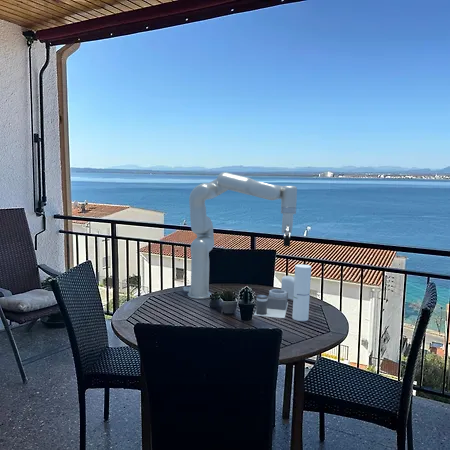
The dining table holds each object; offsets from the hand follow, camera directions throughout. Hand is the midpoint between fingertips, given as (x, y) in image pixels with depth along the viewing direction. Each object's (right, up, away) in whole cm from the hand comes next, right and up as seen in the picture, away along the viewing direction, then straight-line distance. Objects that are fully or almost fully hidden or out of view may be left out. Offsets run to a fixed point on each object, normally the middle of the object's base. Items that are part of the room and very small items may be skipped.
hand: (286, 244), depth 212 cm
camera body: (-5, -30, -1) cm, 31 cm away
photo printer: (+3, -30, +13) cm, 33 cm away
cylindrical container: (+3, -34, -20) cm, 39 cm away
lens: (-14, -31, -15) cm, 37 cm away
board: (-8, -31, -7) cm, 33 cm away
